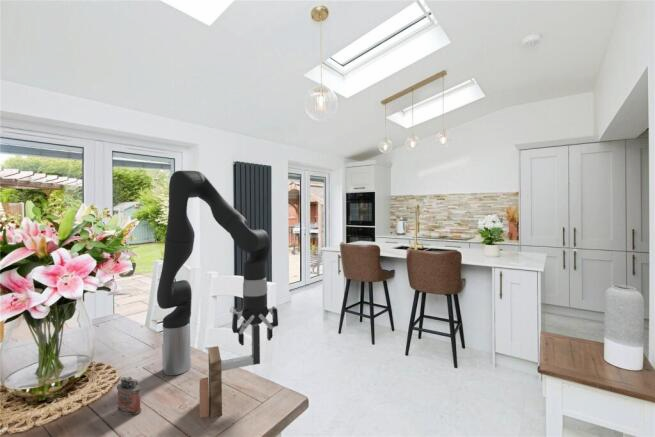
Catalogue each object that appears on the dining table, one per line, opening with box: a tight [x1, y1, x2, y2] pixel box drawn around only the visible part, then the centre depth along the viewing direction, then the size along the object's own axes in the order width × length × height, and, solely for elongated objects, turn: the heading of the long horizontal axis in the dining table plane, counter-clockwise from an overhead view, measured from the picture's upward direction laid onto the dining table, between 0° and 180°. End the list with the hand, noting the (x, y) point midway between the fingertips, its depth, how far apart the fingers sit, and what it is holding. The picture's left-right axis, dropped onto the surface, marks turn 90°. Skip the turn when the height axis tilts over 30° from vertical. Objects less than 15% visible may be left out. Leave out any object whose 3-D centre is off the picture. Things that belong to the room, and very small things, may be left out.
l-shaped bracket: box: [221, 324, 261, 372], centre depth 98 cm, size 14×3×12 cm, turn 114°
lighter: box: [116, 376, 142, 417], centre depth 93 cm, size 8×3×10 cm, turn 70°
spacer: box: [198, 376, 210, 419], centre depth 94 cm, size 2×8×8 cm, turn 22°
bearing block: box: [207, 346, 223, 419], centre depth 95 cm, size 3×11×16 cm, turn 24°
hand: (255, 342), depth 100 cm, fingers open, 8 cm apart
